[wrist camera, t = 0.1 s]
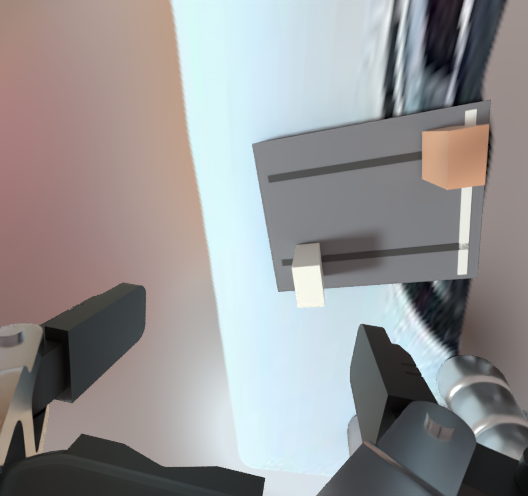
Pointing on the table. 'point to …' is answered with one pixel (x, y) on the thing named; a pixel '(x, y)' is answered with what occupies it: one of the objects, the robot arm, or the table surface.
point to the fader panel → (370, 203)
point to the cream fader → (308, 275)
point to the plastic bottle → (484, 403)
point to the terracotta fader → (455, 156)
